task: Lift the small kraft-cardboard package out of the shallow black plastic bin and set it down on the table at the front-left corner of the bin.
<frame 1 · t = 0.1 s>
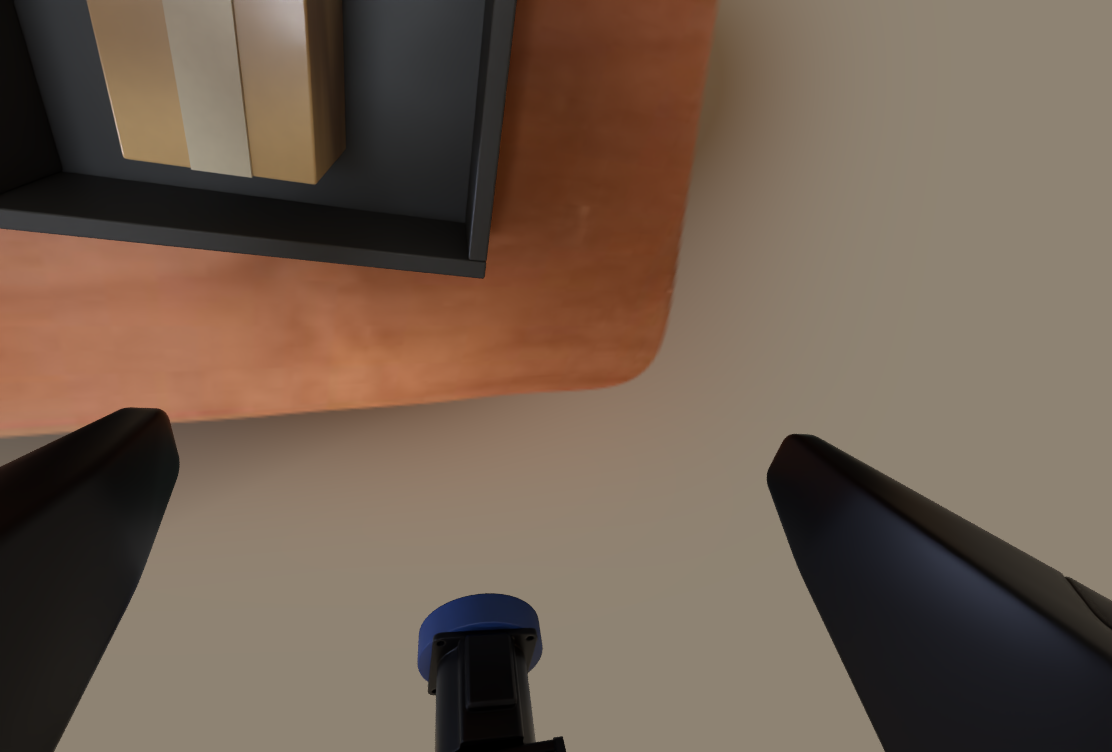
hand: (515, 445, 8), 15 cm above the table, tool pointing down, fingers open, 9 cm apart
bin: (270, 34, 17), on the table
package: (265, 34, 16), resting on bin
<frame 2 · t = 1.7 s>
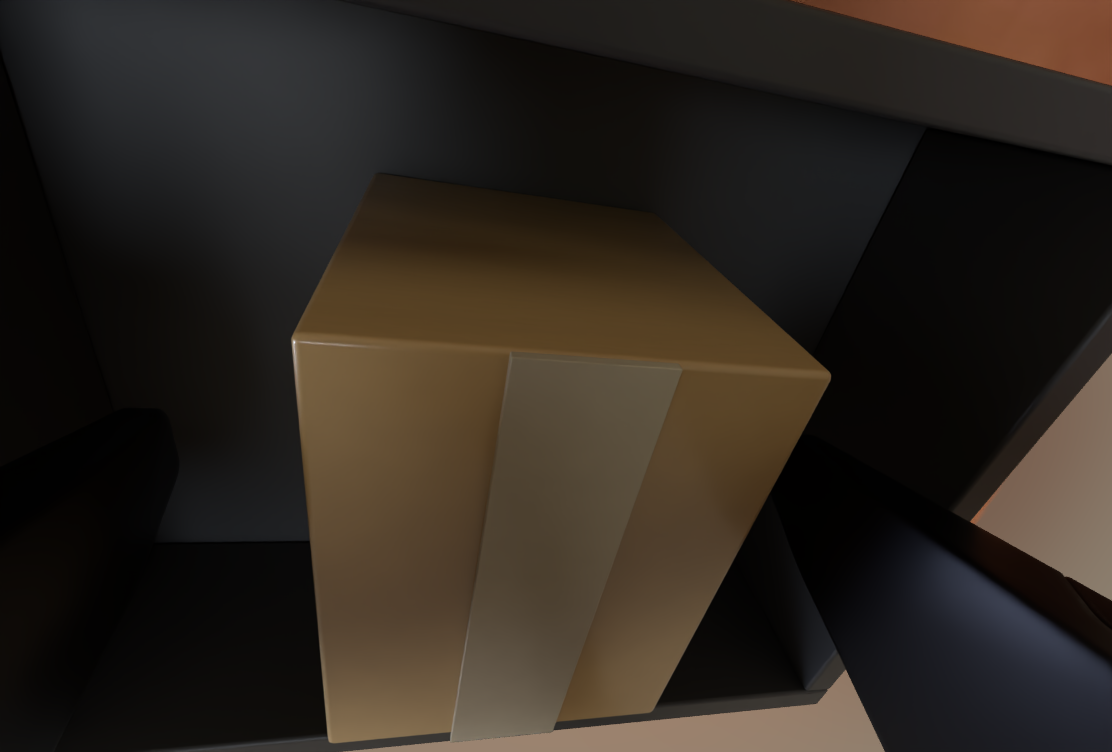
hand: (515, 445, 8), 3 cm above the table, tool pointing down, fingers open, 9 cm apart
bin: (498, 343, 10), on the table
package: (500, 356, 10), resting on bin
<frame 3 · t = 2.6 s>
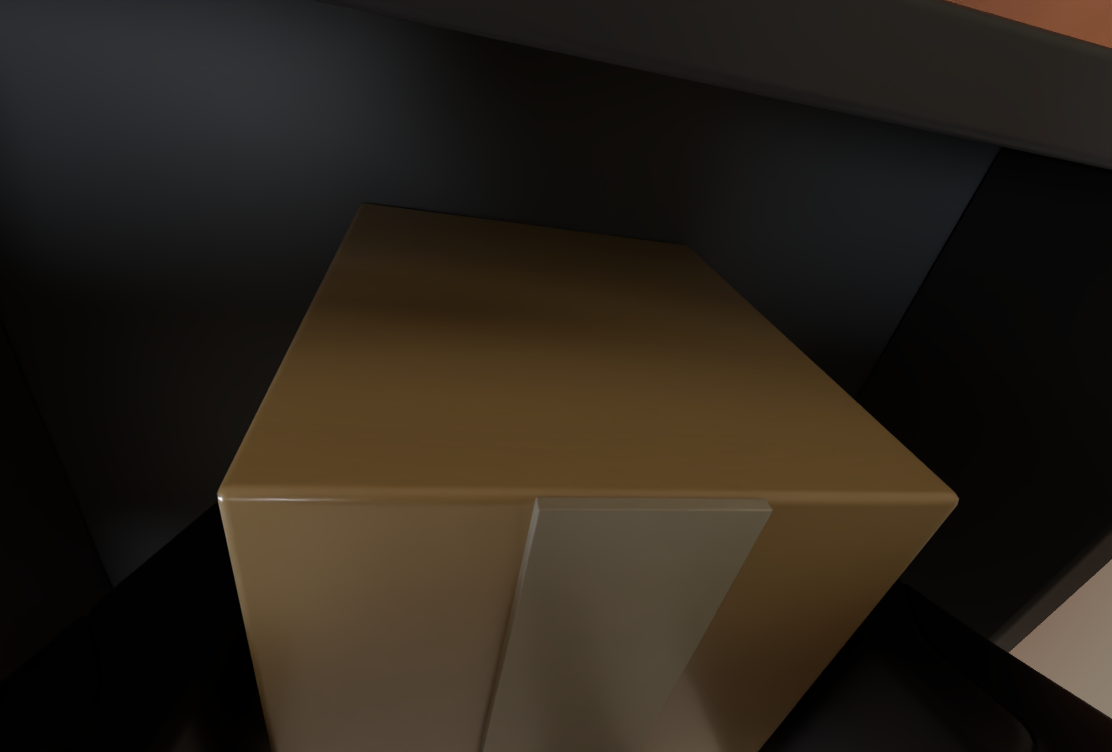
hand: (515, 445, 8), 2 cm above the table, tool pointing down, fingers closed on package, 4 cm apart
bin: (505, 387, 9), on the table
package: (507, 404, 9), resting on bin, touching gripper
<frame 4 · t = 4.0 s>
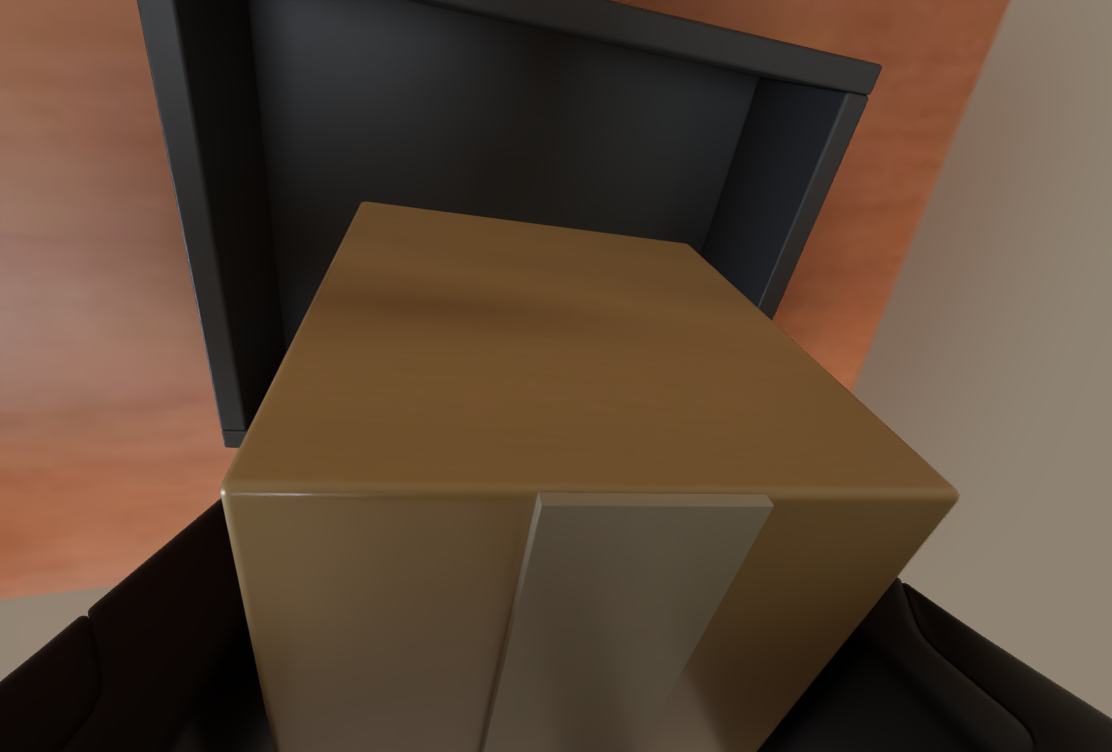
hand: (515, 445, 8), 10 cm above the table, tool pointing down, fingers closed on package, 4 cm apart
bin: (505, 219, 16), on the table
package: (507, 403, 9), point 9 cm above the table, touching gripper
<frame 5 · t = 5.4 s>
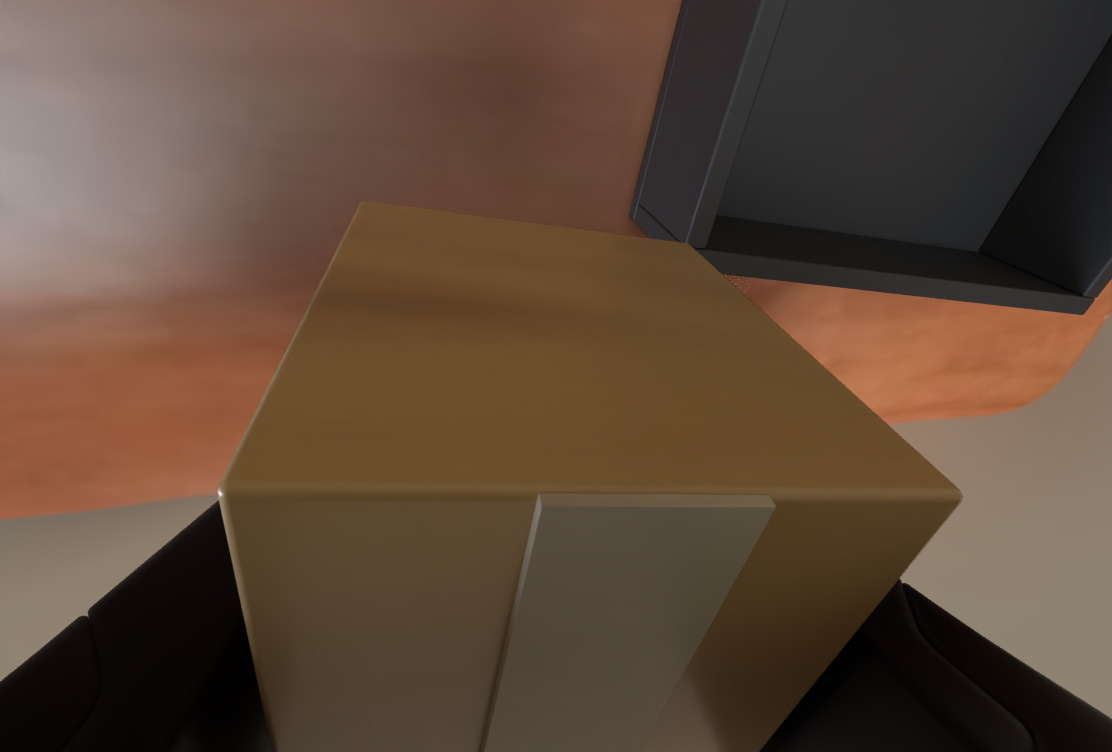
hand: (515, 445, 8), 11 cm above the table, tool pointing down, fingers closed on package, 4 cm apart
bin: (893, 63, 16), on the table
package: (507, 403, 9), point 10 cm above the table, touching gripper
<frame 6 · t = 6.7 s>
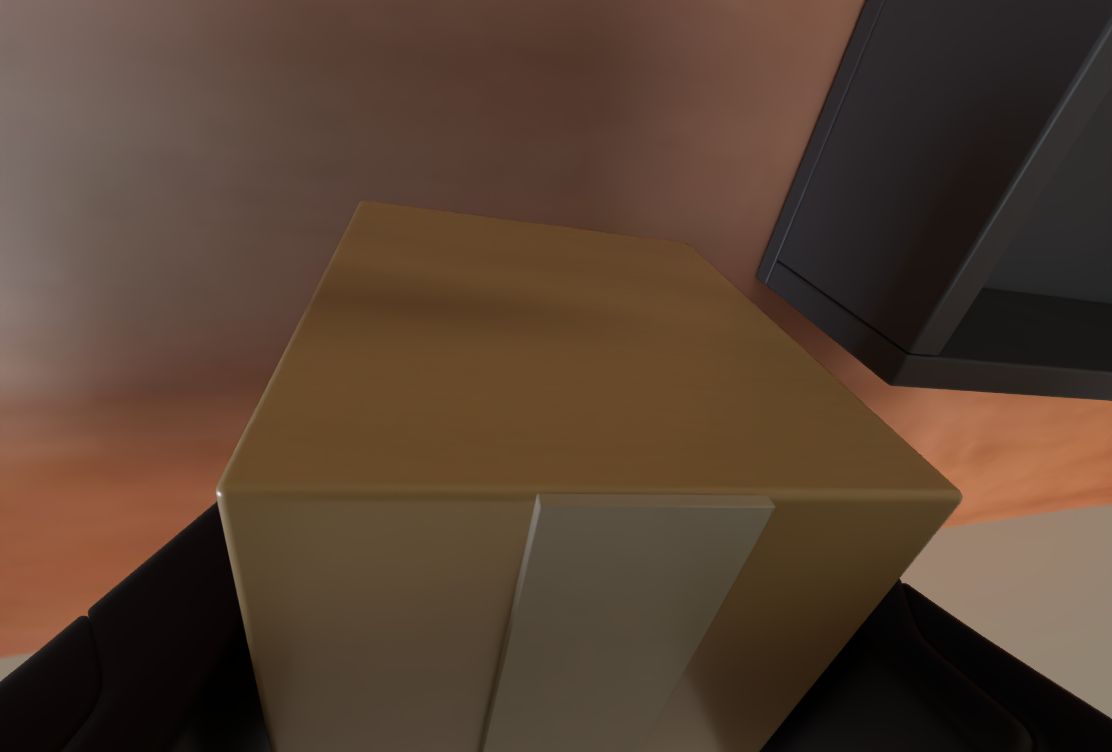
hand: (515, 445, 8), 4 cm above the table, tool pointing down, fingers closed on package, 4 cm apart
package: (507, 403, 9), point 3 cm above the table, touching gripper
when the fingers open (1 cm above the table, at t = 8.0 s): package stays where it is, on the table.
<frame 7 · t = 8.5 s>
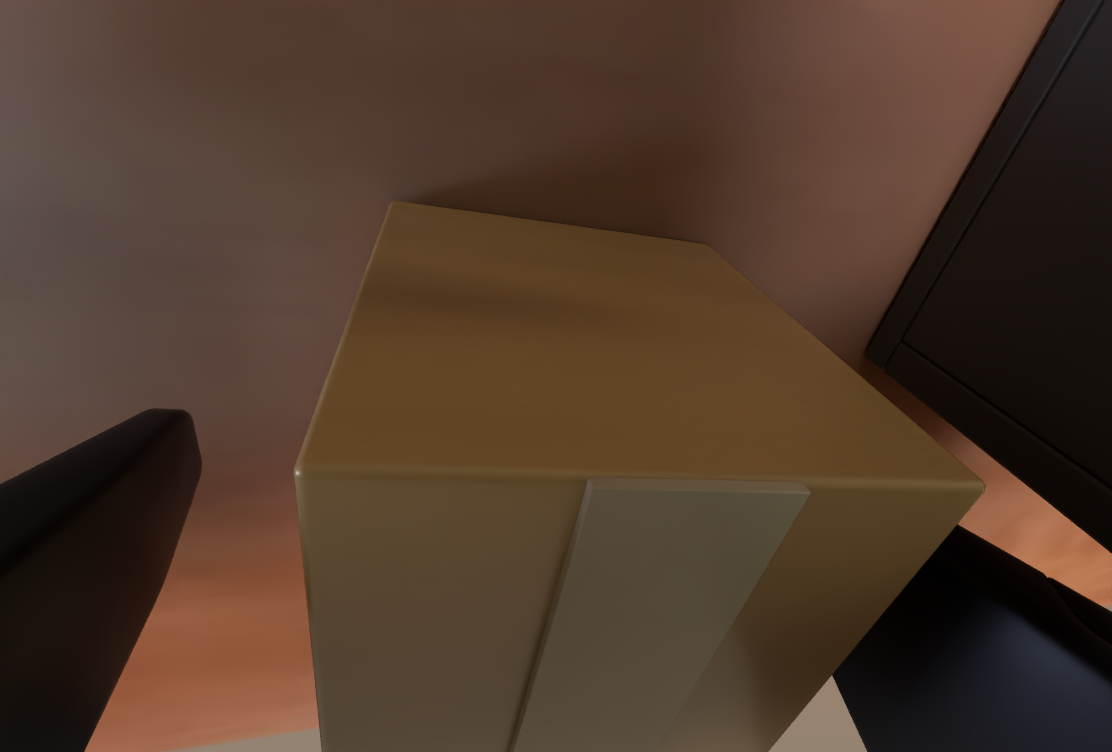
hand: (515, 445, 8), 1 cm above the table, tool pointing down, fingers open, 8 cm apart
package: (527, 399, 9), on the table
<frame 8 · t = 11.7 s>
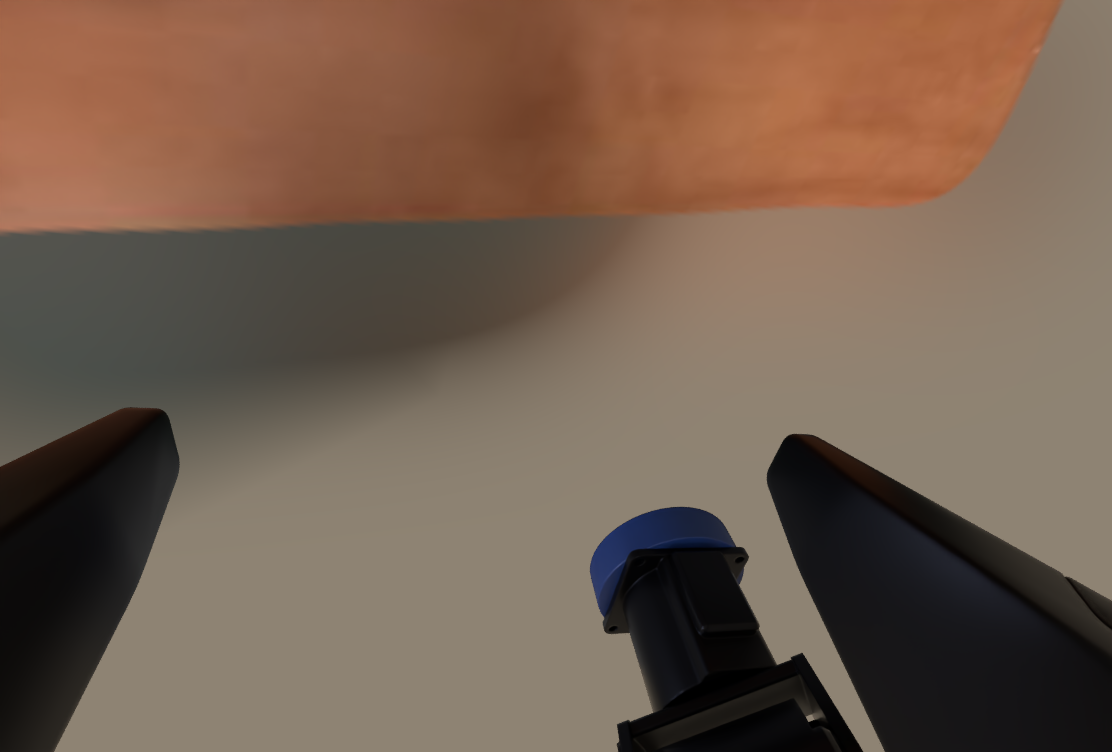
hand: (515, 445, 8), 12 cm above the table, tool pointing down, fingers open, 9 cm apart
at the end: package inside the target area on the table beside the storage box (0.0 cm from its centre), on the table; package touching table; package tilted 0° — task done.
